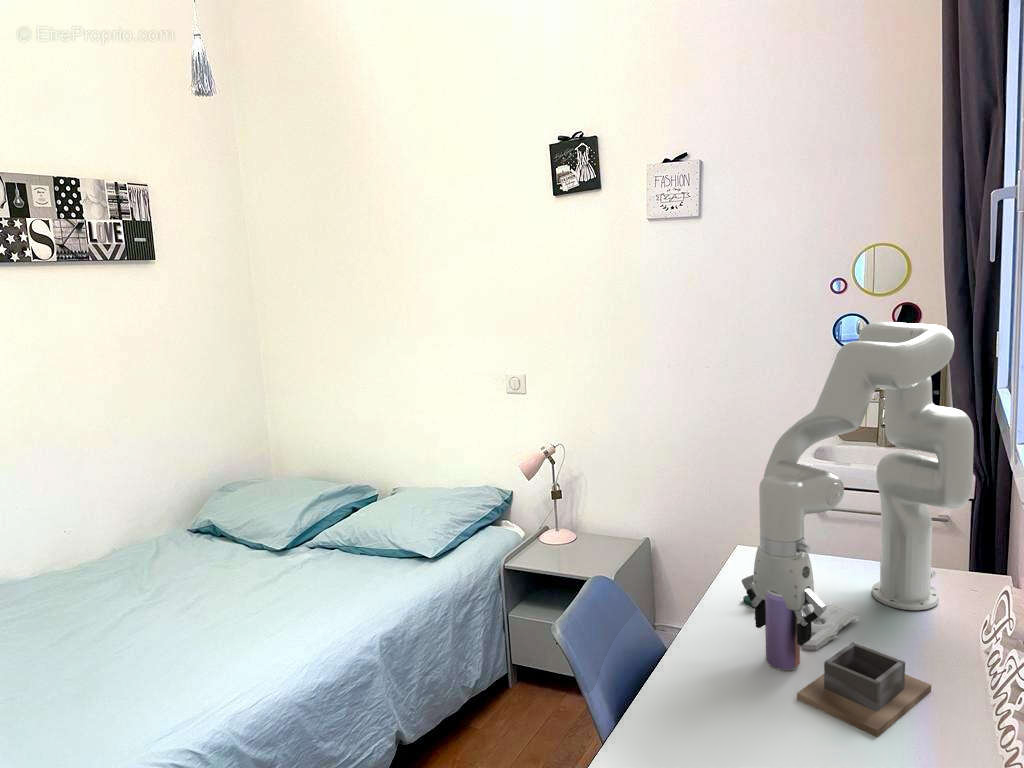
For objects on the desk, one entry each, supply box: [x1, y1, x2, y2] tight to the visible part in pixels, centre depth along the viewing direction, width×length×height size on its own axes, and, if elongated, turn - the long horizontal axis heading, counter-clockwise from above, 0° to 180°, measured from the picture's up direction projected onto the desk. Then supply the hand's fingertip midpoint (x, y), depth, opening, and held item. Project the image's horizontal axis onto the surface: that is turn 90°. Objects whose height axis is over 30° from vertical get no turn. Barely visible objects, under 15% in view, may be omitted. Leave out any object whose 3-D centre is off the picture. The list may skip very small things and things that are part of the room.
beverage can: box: [764, 590, 801, 672], centre depth 141 cm, size 6×6×15 cm
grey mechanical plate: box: [801, 602, 860, 651], centre depth 153 cm, size 18×3×10 cm
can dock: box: [796, 641, 932, 738], centre depth 131 cm, size 18×14×6 cm
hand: (782, 633), depth 141 cm, fingers open, 8 cm apart
